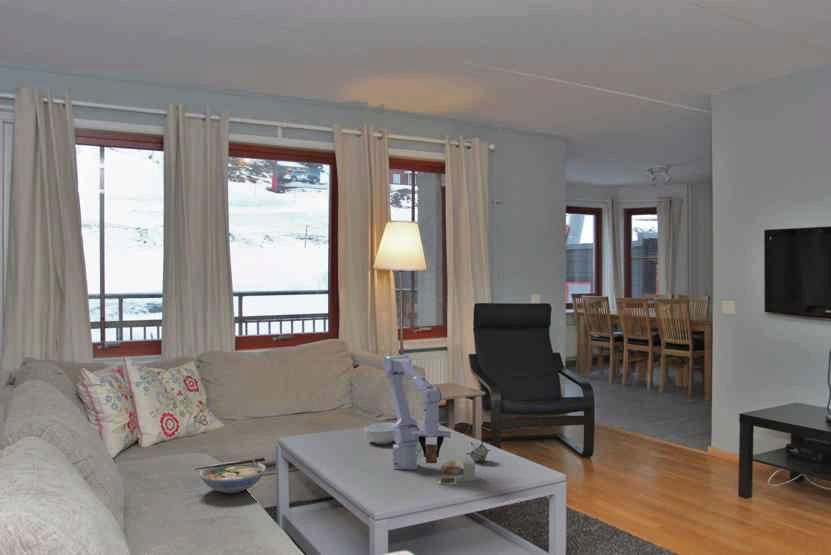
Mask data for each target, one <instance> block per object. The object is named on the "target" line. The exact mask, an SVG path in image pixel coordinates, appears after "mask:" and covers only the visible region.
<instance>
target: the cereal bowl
mask: <svg viewBox="0 0 831 555" xmlns="http://www.w3.org/2000/svg"><path fill="white" fill-rule="evenodd" d="M395 424H396V423H394V422H378V423H372V424H368V425H366V426H365V427H364V428H363V431H364V432H363V433H364V435H365V437H366V439H367V440H369V441H370V442H373V443H375V444H377V445H389V444H391V443H393V442H395V440H394V431H393V427H394V425H395Z"/></svg>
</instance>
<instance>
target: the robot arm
mask: <svg viewBox="0 0 831 555" xmlns="http://www.w3.org/2000/svg"><path fill="white" fill-rule="evenodd" d="M382 367H383V371H384V376H385V378H386V379H387V381H388V387H389V390H390V394H391V399H392V403H393V406H394V412H395V416H396V418H397V419H396V420H397V421H396V422H395V423H394V424H395V425H394V427H393V431H394V442H395V444H393V445H392V448H393V449H392V469H393V470H418V467H419V462H418V460H417V458H418V454H417V453H418V451H417V450H418V448H417V444H420V446H421V448H422V452H423V457H424V458H426V444H427V442H426V440H427V438H436V444H437V458H439V456H440V451H441V447H442V444H443V442H444V439H445V438H448V439H451V438H452V437H451V436H452V434H451V431H445V430H439V429H440V427H439V426H440V425H439V424H440V422H439V421H440V417H439V413H440V412H439V404H440V402H441V401H442V398H443V396H442V392H441V389H440V388H439V386H433V385H432V384H431V383H430V381H429V380H428V379H427V378H426V377H425V376H424V375H419V373H418V372H417V371H416V369H415V367H414V366H413V365H412V359H411V358H410V356H409V355H408V354H401V355H387V356H385V358H384V360H383V363H382ZM405 376H406V377H407V378H408V379H409V380H411V381H410V382H412V383H411V386H412V388H413V389H414V390H415V392H417V394H418V395H419V399H420V402H421V407H422V410H423V412H422V413H423V421H422V422H423V423H422V424H423V430H421V429H420V427H419V425H418V422H417V421H416V420H415V419H413V418H412V417H411V414H410V410H409V406H408V403H407V398H406V393H405V389H404V385H403V382H402V380H403V377H405Z"/></svg>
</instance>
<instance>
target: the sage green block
mask: <svg viewBox="0 0 831 555" xmlns="http://www.w3.org/2000/svg"><path fill="white" fill-rule="evenodd" d="M475 463H476V462H475V461H474V460H464V461H463V481H469V482H470V481H474V482H475V481H476V464H475Z"/></svg>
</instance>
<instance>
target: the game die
mask: <svg viewBox="0 0 831 555" xmlns="http://www.w3.org/2000/svg"><path fill="white" fill-rule="evenodd" d="M470 444H471V445H470V448H469V451H468V452H466V455H469V456H470V458H471V459H472V461H475V463H476V462H485V463H487V460H486V459H487V456H488V452H491V449H488V448H487V447H486V446H485V444H484V443H483V440H482V441H481V442H474V443H473V442H472V441H471V442H470Z"/></svg>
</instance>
